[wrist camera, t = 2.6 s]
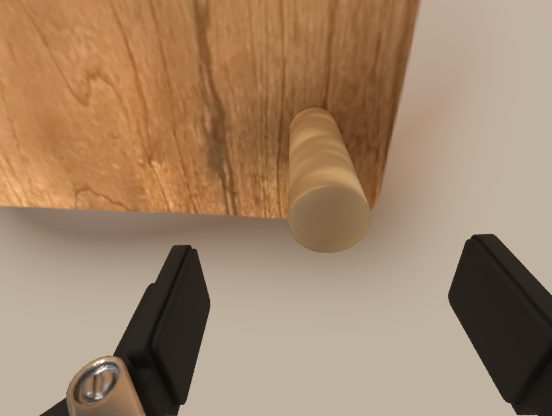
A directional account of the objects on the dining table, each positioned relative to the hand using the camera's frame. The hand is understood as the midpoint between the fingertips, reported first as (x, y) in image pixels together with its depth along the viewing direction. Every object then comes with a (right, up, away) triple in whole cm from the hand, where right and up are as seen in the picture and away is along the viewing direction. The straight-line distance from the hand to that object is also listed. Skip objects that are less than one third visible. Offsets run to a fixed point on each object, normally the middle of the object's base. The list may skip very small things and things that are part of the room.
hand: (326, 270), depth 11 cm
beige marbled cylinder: (+1, +8, +12) cm, 15 cm away
